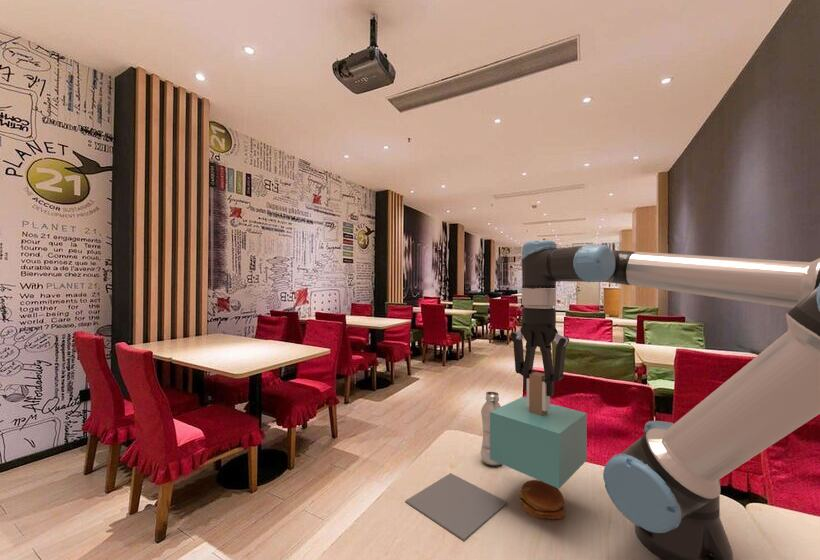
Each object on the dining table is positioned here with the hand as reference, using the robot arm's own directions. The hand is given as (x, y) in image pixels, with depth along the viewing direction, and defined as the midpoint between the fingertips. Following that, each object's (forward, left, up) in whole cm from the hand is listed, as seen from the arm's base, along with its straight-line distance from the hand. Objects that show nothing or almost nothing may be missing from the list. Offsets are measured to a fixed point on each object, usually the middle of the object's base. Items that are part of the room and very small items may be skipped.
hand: (538, 406), depth 80 cm
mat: (+14, +13, -23) cm, 30 cm away
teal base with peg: (0, 0, -12) cm, 12 cm away
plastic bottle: (+18, -9, -23) cm, 31 cm away
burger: (-1, 0, -23) cm, 23 cm away
